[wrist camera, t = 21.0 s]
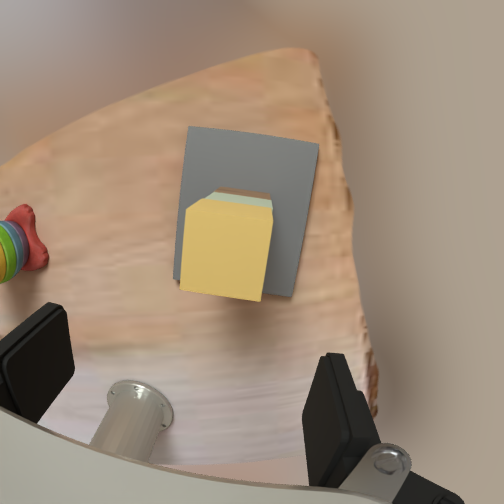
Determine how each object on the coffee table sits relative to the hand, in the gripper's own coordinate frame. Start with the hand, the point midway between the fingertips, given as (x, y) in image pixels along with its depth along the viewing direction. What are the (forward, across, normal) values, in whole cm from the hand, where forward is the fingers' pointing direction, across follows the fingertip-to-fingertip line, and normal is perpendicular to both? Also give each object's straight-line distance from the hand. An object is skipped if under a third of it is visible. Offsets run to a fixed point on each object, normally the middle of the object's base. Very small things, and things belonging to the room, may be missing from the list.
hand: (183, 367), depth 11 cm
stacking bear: (+32, +36, +9) cm, 49 cm away
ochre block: (+19, 0, 0) cm, 19 cm away
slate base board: (+32, 0, 0) cm, 32 cm away
